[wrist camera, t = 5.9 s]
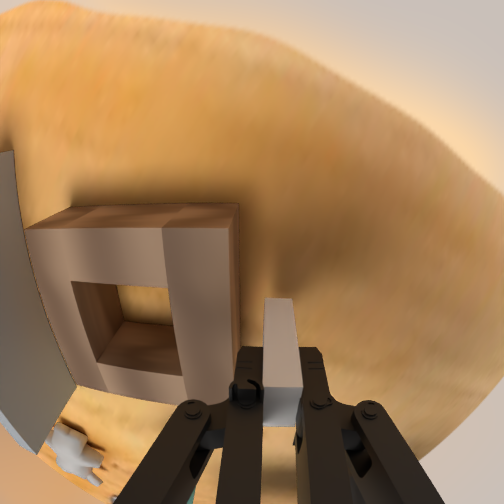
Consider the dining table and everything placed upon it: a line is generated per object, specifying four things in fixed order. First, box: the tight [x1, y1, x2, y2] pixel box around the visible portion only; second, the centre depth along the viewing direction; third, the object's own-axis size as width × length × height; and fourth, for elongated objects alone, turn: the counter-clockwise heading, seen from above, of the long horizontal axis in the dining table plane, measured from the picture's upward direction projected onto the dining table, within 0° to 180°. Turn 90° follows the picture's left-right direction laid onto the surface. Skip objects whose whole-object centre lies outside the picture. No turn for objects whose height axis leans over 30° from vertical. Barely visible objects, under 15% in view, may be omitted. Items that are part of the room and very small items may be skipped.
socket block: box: [24, 203, 241, 405], centre depth 17 cm, size 12×12×5 cm
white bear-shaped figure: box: [45, 422, 104, 486], centre depth 29 cm, size 10×5×15 cm
